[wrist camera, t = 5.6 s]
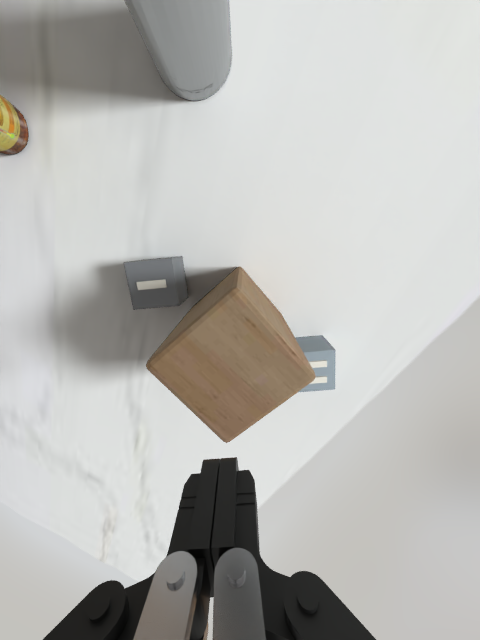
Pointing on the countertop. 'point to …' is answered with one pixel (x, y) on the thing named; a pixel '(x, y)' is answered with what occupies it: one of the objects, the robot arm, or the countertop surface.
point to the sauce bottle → (12, 128)
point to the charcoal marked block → (156, 282)
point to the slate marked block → (319, 362)
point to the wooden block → (232, 358)
